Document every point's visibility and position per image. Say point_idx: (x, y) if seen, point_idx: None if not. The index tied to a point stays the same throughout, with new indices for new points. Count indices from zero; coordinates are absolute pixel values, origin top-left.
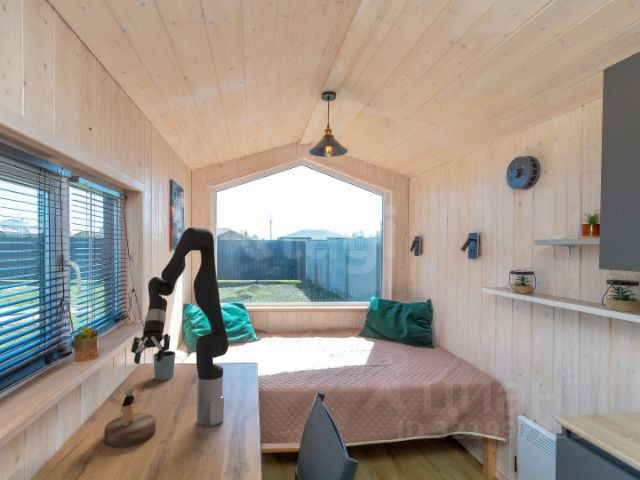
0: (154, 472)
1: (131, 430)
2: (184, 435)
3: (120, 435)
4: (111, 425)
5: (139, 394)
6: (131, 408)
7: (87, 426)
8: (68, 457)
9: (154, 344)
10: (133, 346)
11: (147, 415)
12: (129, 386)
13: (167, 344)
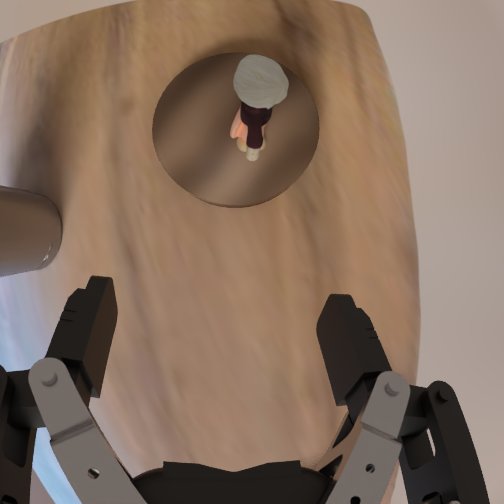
0: (121, 7)
1: (213, 80)
2: (78, 143)
3: (235, 53)
4: (299, 112)
5: (331, 430)
6: (238, 110)
7: (397, 199)
8: (344, 45)
9: (146, 478)
10: (456, 435)
11: (199, 186)
12: (254, 64)
13: (10, 457)
